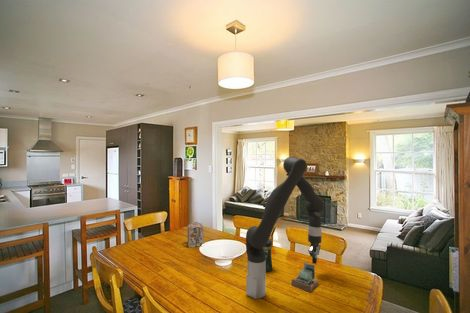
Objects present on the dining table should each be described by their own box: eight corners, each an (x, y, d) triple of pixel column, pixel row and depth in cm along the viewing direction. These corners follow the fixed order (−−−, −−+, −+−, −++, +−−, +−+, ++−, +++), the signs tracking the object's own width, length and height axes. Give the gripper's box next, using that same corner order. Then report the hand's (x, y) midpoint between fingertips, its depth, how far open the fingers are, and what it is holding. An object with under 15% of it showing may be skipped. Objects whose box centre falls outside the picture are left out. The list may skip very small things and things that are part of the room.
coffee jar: (273, 267, 148) (273, 237, 148) (271, 272, 140) (271, 241, 141) (258, 265, 151) (258, 236, 151) (255, 270, 143) (255, 240, 143)
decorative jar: (187, 242, 191) (187, 220, 191) (201, 241, 194) (201, 219, 195) (188, 248, 179) (188, 224, 180) (203, 246, 183) (204, 223, 183)
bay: (310, 292, 120) (310, 286, 120) (291, 285, 126) (291, 279, 126) (318, 284, 128) (318, 278, 128) (300, 277, 134) (300, 272, 134)
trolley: (307, 288, 123) (307, 271, 123) (297, 284, 127) (297, 267, 127) (314, 281, 130) (314, 265, 130) (304, 278, 134) (304, 262, 134)
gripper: (316, 237, 130) (316, 269, 130) (325, 232, 140) (325, 261, 140) (303, 234, 135) (303, 265, 135) (313, 230, 145) (312, 258, 145)
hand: (314, 263), depth 138 cm, fingers closed
